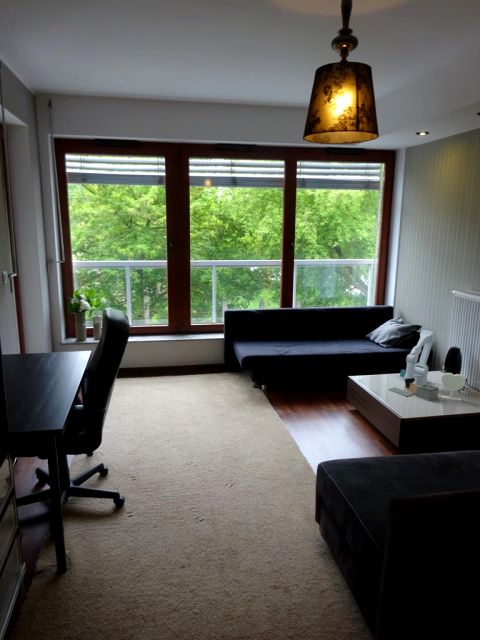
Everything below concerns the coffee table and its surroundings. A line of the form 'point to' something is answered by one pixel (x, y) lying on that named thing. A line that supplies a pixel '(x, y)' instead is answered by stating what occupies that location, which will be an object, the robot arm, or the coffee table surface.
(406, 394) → the slate mat
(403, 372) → the teal l-shaped bracket
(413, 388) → the tall tan wooden post
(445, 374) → the heart sculpture
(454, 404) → the coffee table surface
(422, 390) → the dispenser
